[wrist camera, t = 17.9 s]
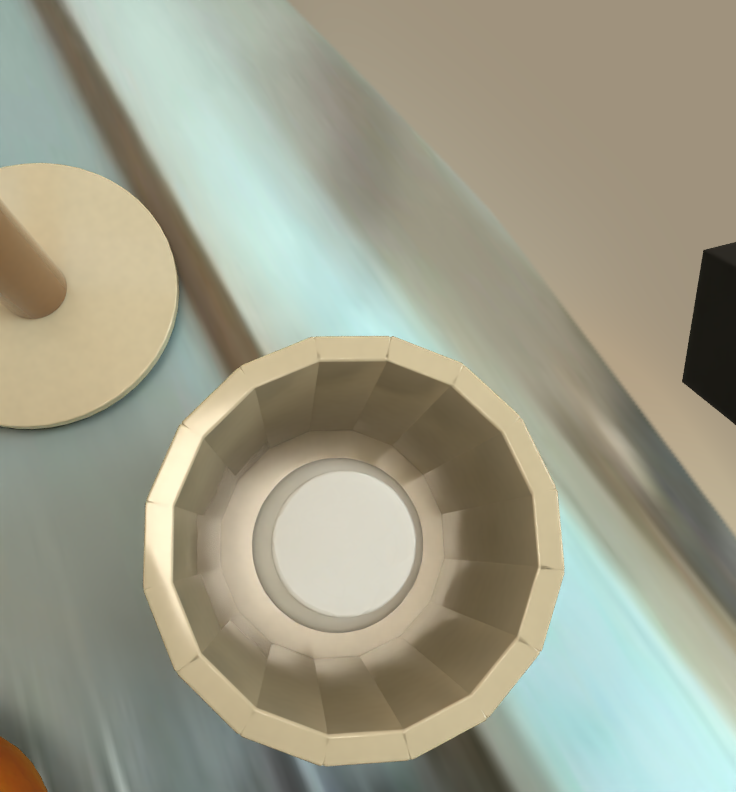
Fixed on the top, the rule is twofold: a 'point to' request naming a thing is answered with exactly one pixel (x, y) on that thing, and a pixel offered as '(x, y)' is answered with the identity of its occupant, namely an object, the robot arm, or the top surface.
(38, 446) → the top surface
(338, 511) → the pill bottle
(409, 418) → the pot
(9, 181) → the lid
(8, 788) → the fruit
